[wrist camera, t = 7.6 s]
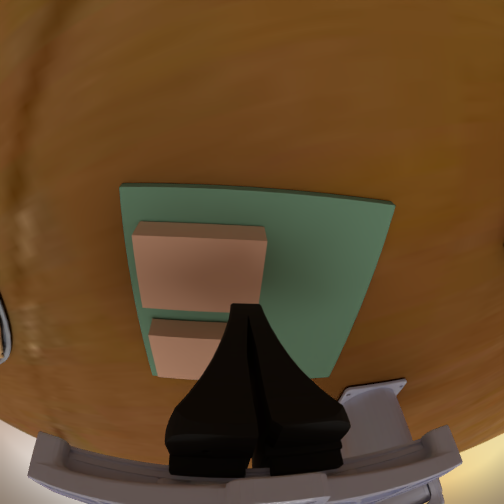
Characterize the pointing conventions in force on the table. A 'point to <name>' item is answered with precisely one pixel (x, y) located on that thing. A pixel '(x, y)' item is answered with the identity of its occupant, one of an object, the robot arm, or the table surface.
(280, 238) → the felt mat
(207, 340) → the tile
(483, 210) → the table surface
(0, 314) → the toy pizza
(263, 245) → the tile
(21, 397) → the table surface
